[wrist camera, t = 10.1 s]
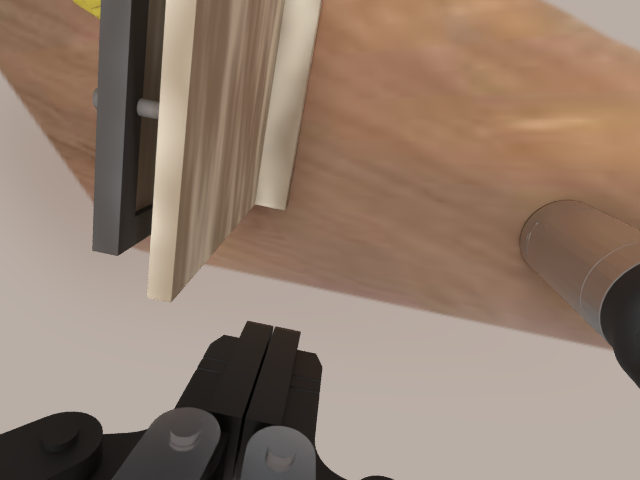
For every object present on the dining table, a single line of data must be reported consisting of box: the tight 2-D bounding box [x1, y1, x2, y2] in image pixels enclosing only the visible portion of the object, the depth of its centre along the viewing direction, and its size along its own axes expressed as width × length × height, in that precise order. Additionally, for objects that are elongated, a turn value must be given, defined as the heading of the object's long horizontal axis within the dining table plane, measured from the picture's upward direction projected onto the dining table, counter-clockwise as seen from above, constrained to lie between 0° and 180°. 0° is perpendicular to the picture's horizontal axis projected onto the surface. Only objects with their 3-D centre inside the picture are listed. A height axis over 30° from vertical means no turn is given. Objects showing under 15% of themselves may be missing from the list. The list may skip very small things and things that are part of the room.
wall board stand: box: [137, 0, 322, 302], centre depth 35 cm, size 12×22×26 cm, turn 169°
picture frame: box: [92, 0, 166, 256], centre depth 30 cm, size 2×18×14 cm, turn 169°
